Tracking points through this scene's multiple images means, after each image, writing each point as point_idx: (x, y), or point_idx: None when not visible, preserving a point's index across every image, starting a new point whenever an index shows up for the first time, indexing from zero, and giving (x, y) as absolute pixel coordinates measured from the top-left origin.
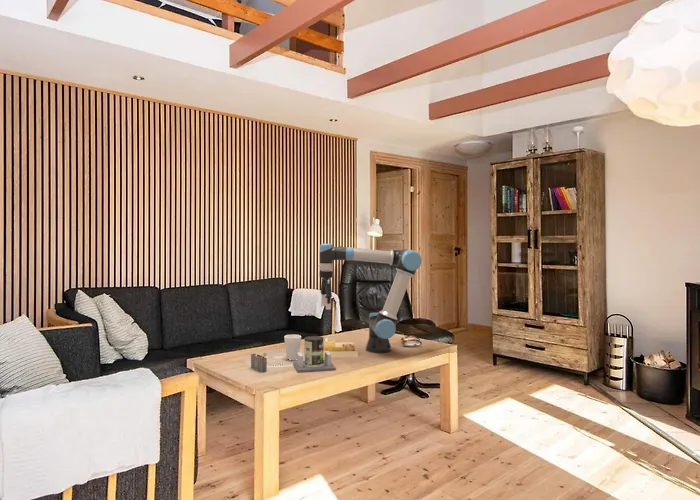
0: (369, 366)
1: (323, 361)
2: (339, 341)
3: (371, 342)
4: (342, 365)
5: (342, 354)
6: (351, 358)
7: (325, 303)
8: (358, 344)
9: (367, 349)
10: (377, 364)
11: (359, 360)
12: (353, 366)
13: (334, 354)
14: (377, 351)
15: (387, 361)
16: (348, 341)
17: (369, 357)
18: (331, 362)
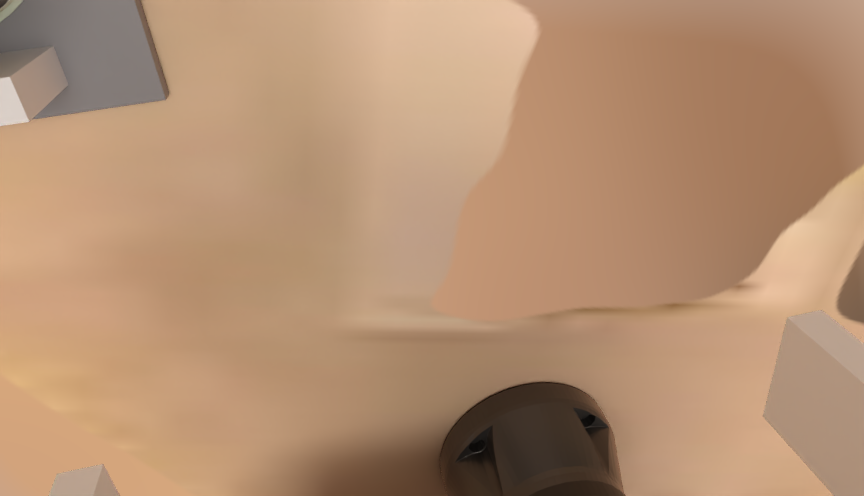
0: (44, 396)
1: (76, 34)
2: (858, 210)
3: (503, 463)
4: (41, 207)
5: (434, 219)
6: (294, 283)
7: (811, 453)
8: (712, 337)
9: (509, 396)
10: (115, 442)
11: (229, 336)
12: (22, 291)
13: (443, 154)
14: (445, 450)
15: (207, 492)
16: (827, 274)
17: (321, 398)
18: (44, 117)
